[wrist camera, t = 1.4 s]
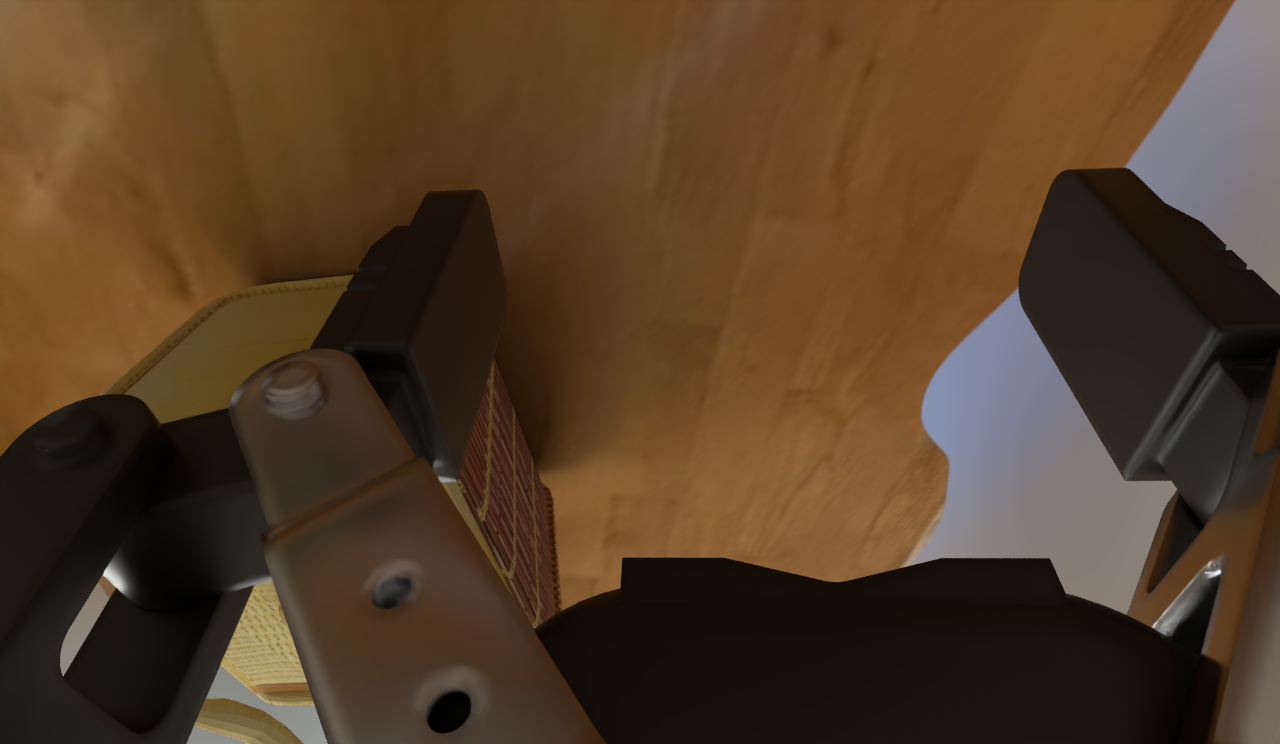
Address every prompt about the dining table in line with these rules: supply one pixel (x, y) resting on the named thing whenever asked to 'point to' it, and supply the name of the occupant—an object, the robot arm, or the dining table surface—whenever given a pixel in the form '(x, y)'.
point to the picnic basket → (484, 495)
